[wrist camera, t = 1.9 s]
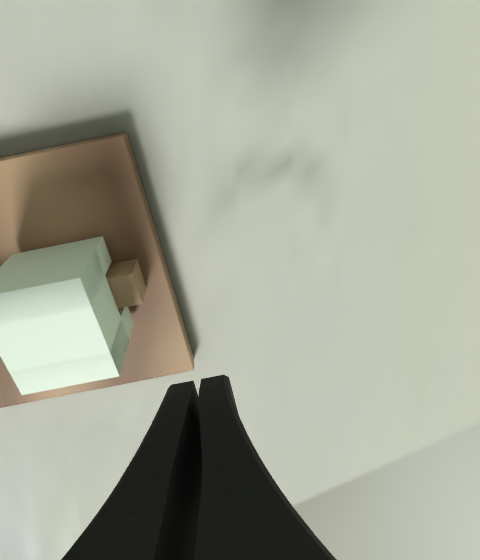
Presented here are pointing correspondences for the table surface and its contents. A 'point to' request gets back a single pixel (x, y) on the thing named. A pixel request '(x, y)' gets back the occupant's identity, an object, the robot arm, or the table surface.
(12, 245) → the track board
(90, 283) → the block
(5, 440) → the table surface
